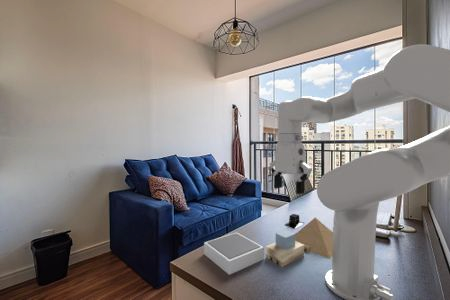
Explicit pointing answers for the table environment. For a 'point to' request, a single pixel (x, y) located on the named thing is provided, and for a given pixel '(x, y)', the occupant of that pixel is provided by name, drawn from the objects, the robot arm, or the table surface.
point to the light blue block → (285, 239)
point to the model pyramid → (316, 238)
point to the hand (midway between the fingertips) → (288, 190)
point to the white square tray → (233, 252)
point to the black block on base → (294, 221)
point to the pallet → (284, 253)
